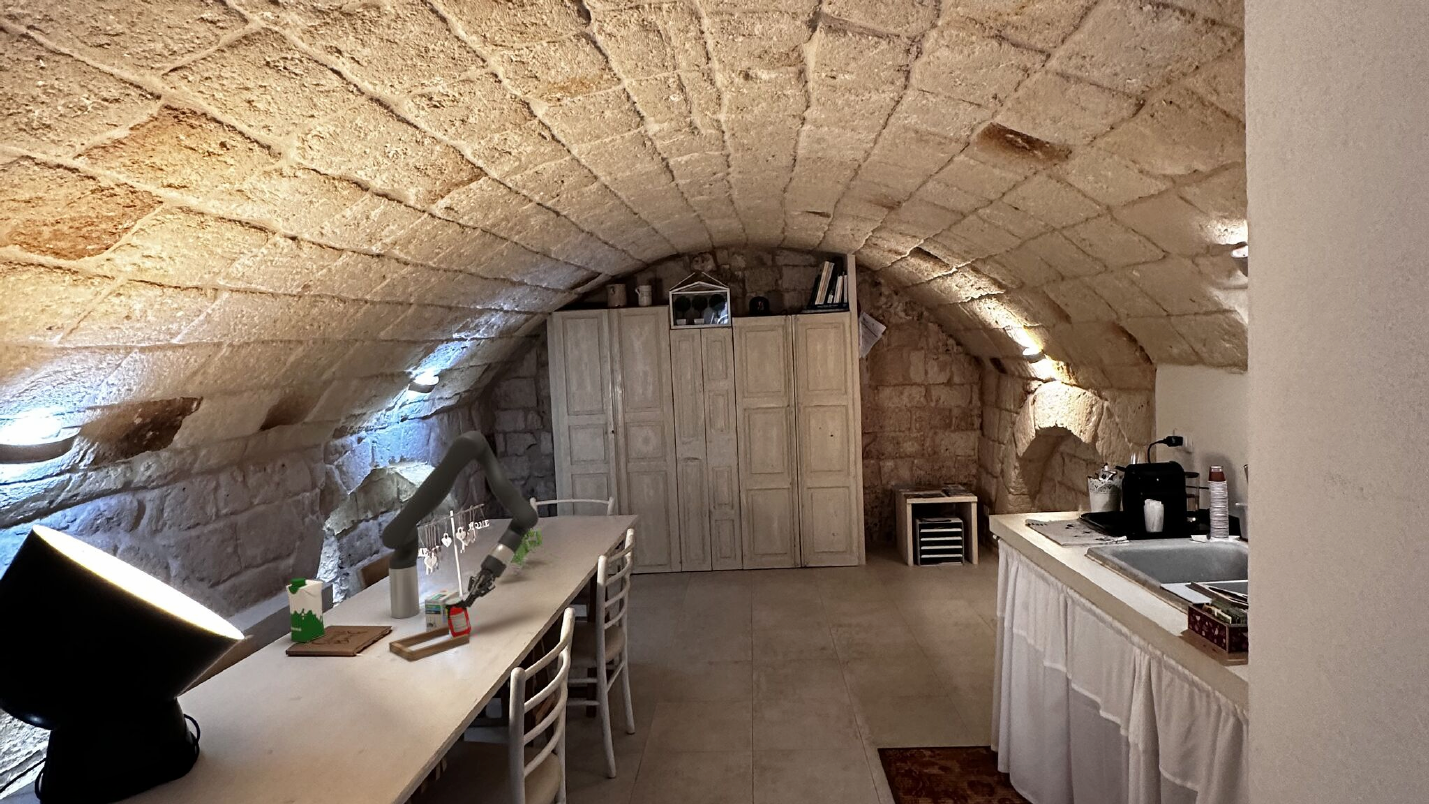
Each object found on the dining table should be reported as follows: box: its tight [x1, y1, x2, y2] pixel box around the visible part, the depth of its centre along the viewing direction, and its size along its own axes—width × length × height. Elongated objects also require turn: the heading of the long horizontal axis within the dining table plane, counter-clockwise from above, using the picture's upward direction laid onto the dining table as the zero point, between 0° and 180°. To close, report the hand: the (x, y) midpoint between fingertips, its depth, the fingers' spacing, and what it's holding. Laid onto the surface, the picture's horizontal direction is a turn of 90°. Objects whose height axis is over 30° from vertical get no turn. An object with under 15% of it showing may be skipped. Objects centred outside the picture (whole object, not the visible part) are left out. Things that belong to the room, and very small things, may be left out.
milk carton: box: [285, 577, 326, 643], centre depth 249 cm, size 9×9×20 cm
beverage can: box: [445, 596, 472, 638], centre depth 244 cm, size 6×6×12 cm
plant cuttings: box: [509, 527, 560, 579], centre depth 316 cm, size 35×17×22 cm
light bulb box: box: [424, 589, 460, 632], centre depth 256 cm, size 11×7×11 cm, turn 168°
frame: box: [388, 625, 470, 662], centre depth 238 cm, size 14×19×2 cm
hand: (466, 605), depth 247 cm, fingers closed
